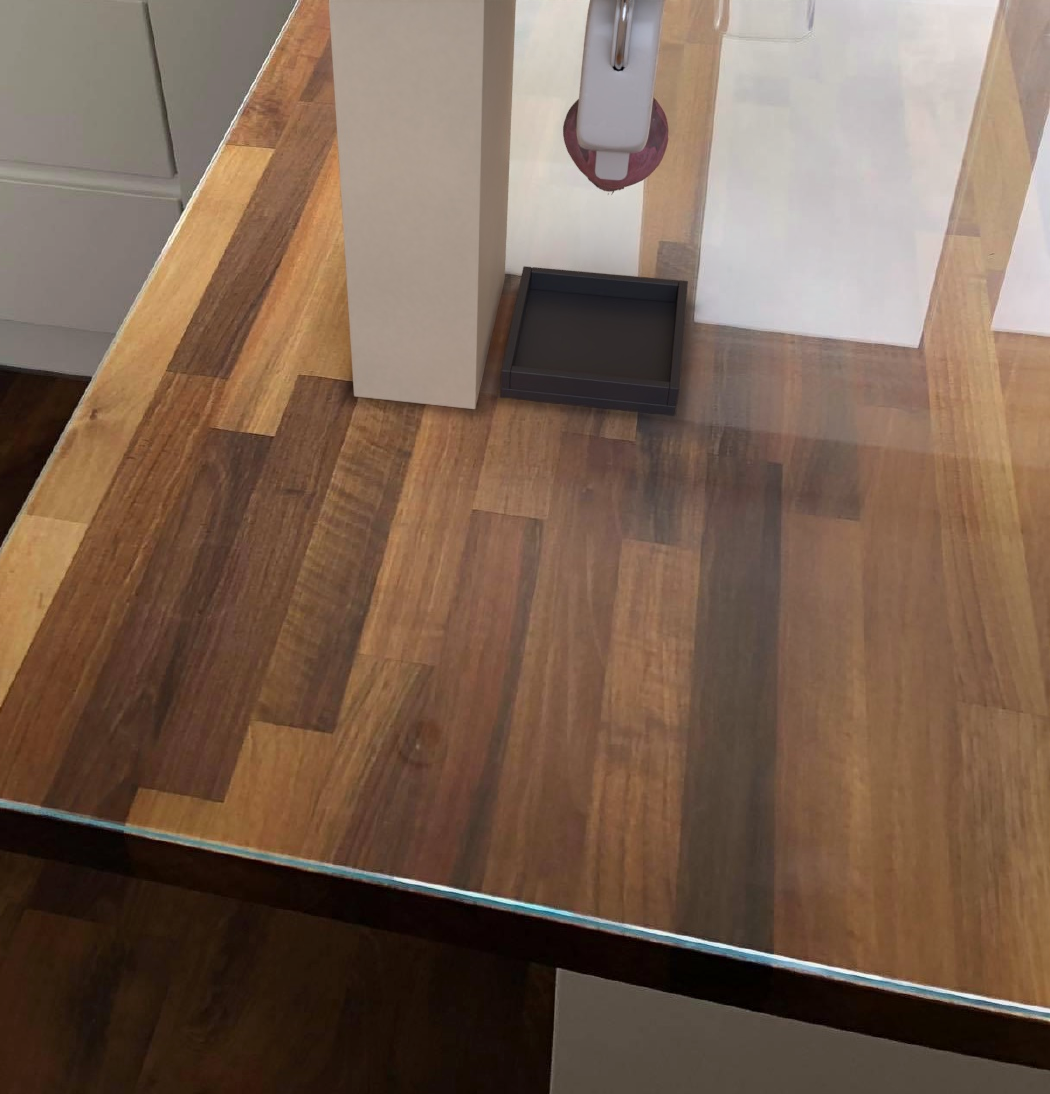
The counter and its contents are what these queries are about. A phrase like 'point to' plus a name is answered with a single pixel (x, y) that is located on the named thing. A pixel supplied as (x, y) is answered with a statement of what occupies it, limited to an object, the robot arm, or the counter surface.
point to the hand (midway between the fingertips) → (616, 136)
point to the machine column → (423, 189)
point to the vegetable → (638, 162)
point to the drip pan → (596, 340)
